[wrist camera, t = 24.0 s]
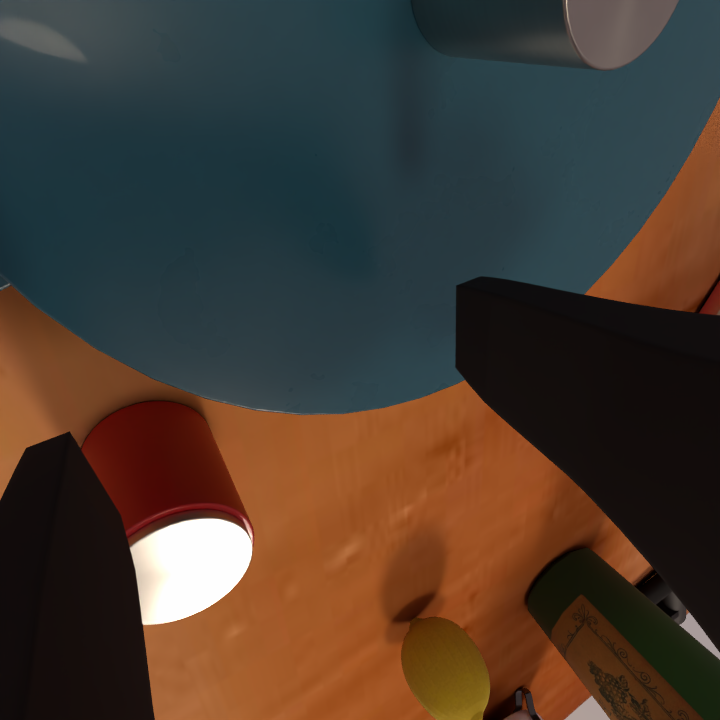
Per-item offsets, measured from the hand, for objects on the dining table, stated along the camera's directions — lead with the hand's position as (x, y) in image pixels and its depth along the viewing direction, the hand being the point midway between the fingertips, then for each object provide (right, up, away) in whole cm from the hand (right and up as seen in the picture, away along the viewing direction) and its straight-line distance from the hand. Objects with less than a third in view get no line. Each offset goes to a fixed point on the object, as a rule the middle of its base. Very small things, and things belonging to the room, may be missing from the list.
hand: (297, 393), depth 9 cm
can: (-7, -3, +12) cm, 14 cm away
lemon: (+5, -19, +31) cm, 37 cm away
